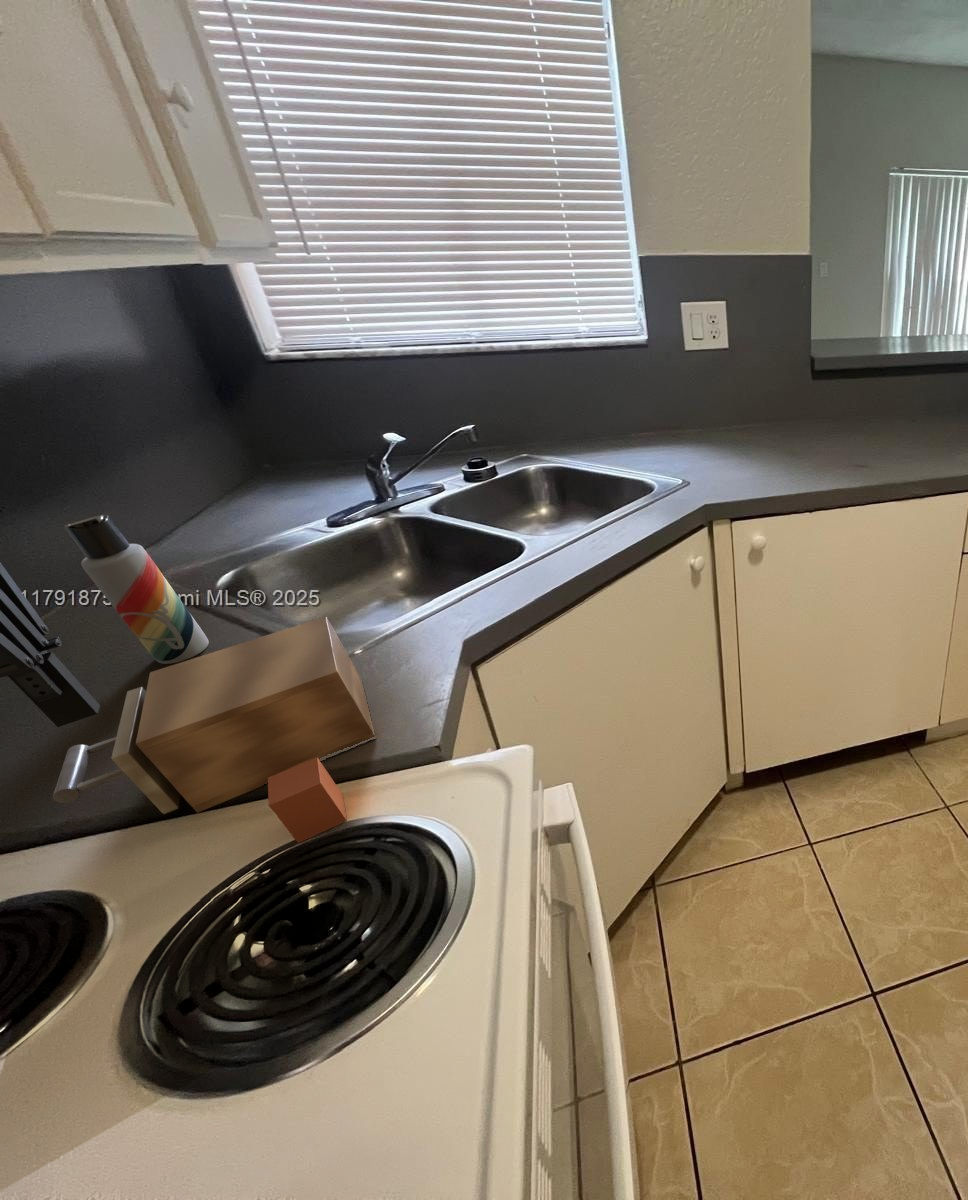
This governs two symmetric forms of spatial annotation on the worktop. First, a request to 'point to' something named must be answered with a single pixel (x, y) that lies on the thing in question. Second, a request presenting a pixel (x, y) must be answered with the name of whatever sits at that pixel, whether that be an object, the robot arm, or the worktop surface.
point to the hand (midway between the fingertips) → (79, 715)
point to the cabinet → (252, 712)
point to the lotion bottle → (137, 591)
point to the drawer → (119, 762)
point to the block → (306, 800)
